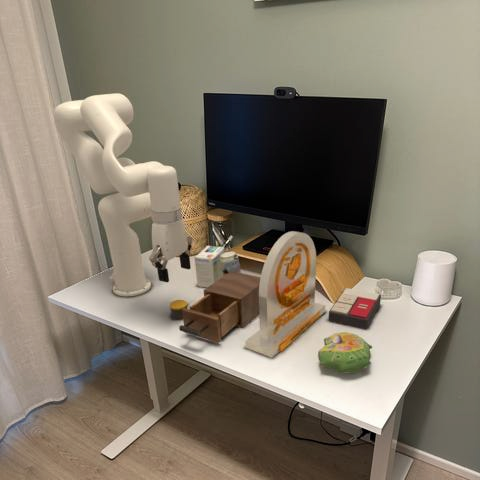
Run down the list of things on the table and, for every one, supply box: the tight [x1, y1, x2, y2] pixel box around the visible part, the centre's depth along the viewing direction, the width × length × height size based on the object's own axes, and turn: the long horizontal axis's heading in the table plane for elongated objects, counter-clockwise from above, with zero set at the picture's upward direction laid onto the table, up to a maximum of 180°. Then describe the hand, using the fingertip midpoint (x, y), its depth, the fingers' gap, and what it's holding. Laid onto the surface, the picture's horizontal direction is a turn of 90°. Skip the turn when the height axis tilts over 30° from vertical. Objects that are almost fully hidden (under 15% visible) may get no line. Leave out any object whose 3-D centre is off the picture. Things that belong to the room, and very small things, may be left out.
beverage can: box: [220, 251, 242, 276], centre depth 147 cm, size 6×7×12 cm
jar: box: [169, 299, 189, 321], centre depth 134 cm, size 5×5×4 cm
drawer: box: [178, 294, 240, 344], centre depth 124 cm, size 18×11×7 cm, turn 148°
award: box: [244, 230, 326, 359], centre depth 119 cm, size 28×9×28 cm, turn 143°
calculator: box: [328, 287, 382, 330], centre depth 131 cm, size 11×4×15 cm
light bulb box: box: [194, 245, 226, 288], centre depth 152 cm, size 11×7×11 cm, turn 160°
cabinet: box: [203, 271, 261, 328], centre depth 134 cm, size 15×13×9 cm
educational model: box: [317, 331, 373, 374], centre depth 111 cm, size 13×16×5 cm
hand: (175, 274), depth 128 cm, fingers open, 9 cm apart
